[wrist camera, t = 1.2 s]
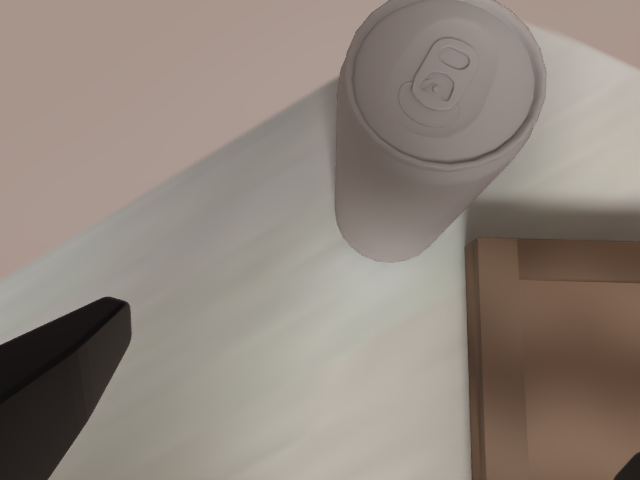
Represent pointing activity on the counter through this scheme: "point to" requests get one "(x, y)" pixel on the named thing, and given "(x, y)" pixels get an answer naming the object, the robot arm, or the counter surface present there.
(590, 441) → the walnut tray
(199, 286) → the counter surface
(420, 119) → the beverage can
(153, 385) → the counter surface
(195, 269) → the counter surface
